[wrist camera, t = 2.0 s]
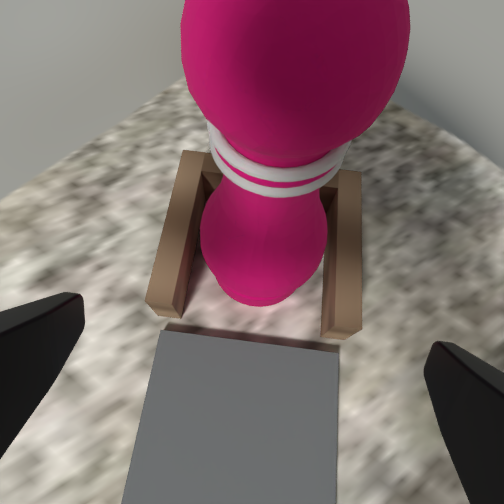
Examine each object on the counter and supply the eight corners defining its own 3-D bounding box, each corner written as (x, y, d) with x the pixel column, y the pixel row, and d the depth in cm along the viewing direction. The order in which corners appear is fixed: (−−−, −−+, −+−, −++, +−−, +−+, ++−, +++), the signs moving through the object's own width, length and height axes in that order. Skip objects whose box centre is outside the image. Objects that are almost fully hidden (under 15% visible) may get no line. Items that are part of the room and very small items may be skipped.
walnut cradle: (343, 340, 22) (362, 329, 19) (157, 315, 22) (144, 300, 19) (346, 200, 26) (361, 171, 23) (189, 180, 27) (183, 149, 23)
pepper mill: (186, 250, 24) (29, -222, 6) (269, 200, 26) (345, -275, 8) (245, 336, 22) (287, 9, 4) (332, 275, 24) (641, -142, 6)
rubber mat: (330, 580, 17) (333, 585, 17) (113, 549, 18) (109, 554, 17) (336, 354, 22) (338, 353, 21) (162, 331, 22) (160, 329, 21)
